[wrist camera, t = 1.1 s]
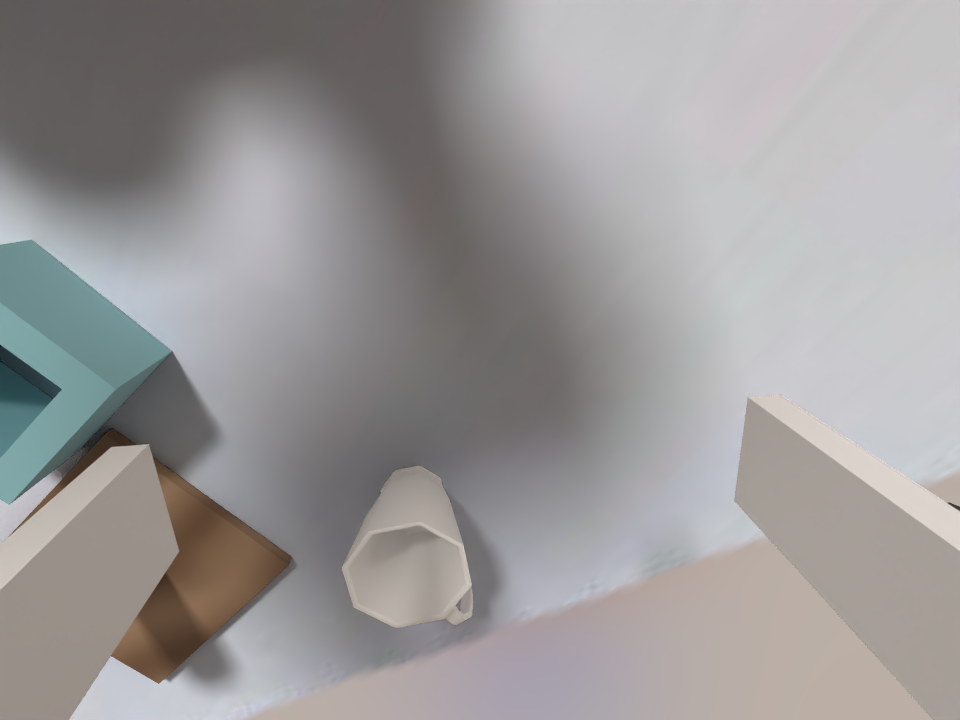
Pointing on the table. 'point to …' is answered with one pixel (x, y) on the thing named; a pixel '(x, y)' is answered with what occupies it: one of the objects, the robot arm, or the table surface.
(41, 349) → the collar
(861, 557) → the robot arm
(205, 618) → the post stand
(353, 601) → the cup
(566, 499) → the table surface
